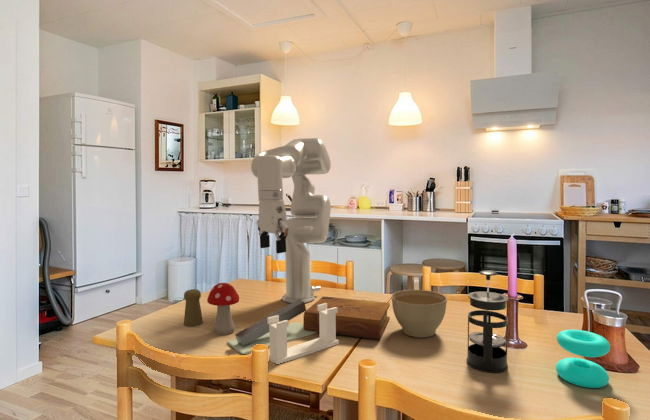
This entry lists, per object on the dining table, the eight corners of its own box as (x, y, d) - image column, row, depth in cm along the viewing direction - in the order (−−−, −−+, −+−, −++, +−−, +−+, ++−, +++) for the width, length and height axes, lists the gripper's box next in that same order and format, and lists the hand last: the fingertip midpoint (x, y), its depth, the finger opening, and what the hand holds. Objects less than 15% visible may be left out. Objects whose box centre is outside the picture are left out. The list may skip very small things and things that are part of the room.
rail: (300, 308, 121) (298, 299, 120) (306, 310, 118) (304, 301, 118) (238, 343, 108) (235, 334, 107) (242, 347, 106) (239, 337, 105)
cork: (197, 327, 123) (195, 293, 122) (179, 326, 124) (178, 292, 123) (206, 320, 129) (205, 288, 128) (190, 319, 130) (188, 287, 129)
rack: (327, 338, 113) (326, 302, 112) (339, 344, 108) (338, 307, 108) (266, 357, 100) (265, 318, 100) (277, 365, 96) (276, 323, 95)
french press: (466, 352, 102) (467, 265, 101) (506, 357, 99) (507, 268, 97) (465, 372, 91) (467, 276, 90) (510, 379, 88) (512, 279, 86)
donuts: (618, 347, 81) (564, 342, 84) (616, 393, 82) (562, 387, 84) (600, 329, 90) (551, 325, 93) (598, 371, 91) (550, 366, 94)
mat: (297, 323, 125) (297, 321, 125) (316, 332, 117) (316, 330, 117) (227, 343, 110) (227, 341, 110) (243, 355, 102) (243, 353, 102)
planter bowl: (447, 325, 121) (447, 291, 121) (445, 346, 106) (446, 307, 105) (395, 320, 127) (395, 287, 126) (387, 339, 111) (387, 301, 111)
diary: (303, 331, 117) (303, 312, 116) (323, 312, 134) (322, 296, 134) (379, 340, 110) (379, 320, 109) (389, 319, 127) (389, 302, 127)
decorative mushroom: (201, 334, 117) (200, 285, 116) (219, 324, 125) (218, 278, 124) (229, 338, 113) (228, 288, 112) (246, 328, 121) (244, 281, 120)
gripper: (296, 196, 116) (298, 252, 118) (267, 193, 129) (269, 244, 131) (274, 198, 111) (277, 256, 113) (246, 195, 124) (249, 247, 127)
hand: (273, 250), depth 122 cm, fingers open, 9 cm apart
